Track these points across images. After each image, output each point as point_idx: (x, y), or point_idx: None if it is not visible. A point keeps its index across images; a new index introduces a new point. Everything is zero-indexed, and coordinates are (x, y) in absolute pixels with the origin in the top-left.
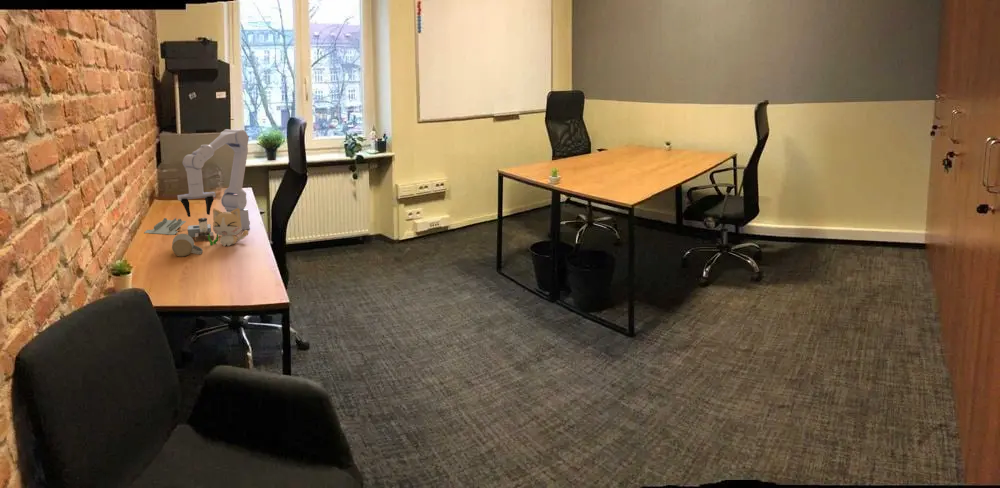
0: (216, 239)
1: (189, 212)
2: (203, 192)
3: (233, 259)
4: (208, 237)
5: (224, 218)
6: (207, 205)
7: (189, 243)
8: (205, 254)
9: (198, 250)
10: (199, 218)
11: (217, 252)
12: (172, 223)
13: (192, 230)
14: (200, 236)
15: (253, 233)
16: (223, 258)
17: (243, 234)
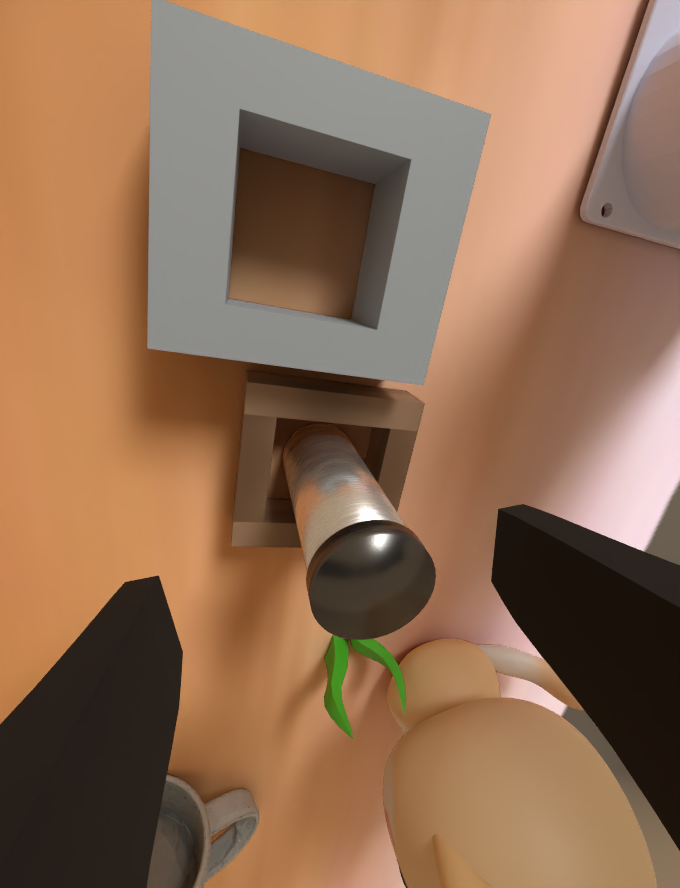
0: (381, 660)
1: (154, 770)
2: None
3: (371, 879)
4: (329, 708)
5: None
6: (655, 745)
7: None
8: (268, 817)
9: (235, 796)
10: (336, 558)
11: (332, 793)
12: None
13: (216, 354)
14: (282, 545)
15: (672, 428)
16: (337, 868)
17: (552, 695)
